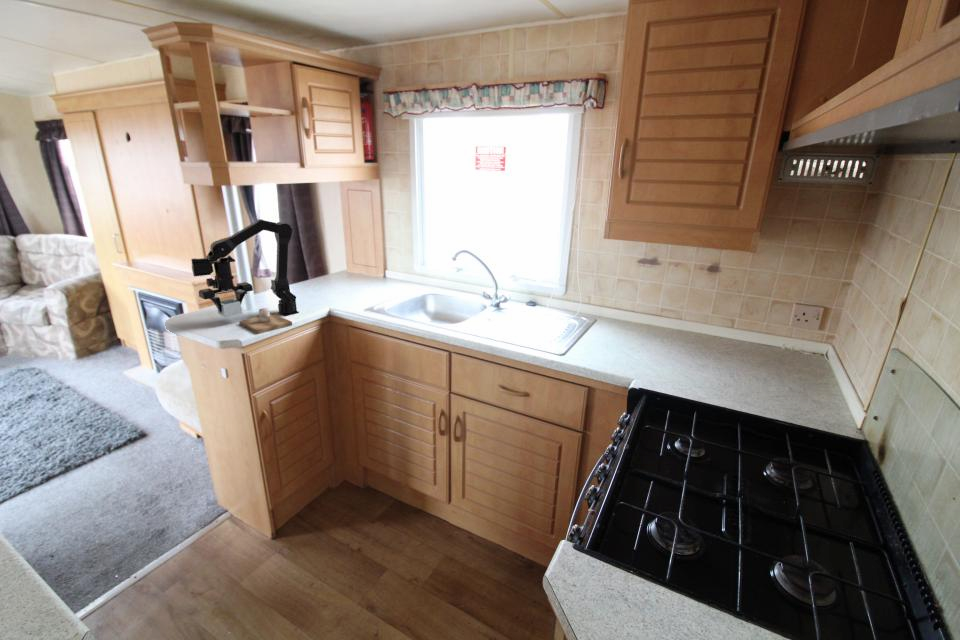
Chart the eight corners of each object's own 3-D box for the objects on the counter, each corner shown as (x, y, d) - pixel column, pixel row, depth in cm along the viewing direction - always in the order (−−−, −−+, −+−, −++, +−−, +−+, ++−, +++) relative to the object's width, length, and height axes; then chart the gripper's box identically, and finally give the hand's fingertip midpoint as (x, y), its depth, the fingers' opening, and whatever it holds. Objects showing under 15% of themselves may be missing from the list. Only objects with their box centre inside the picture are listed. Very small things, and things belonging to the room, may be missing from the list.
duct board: (273, 316, 195) (271, 302, 193) (292, 325, 185) (290, 310, 183) (239, 324, 185) (237, 309, 183) (258, 334, 175) (255, 318, 173)
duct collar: (235, 310, 190) (233, 298, 189) (242, 313, 186) (240, 301, 185) (218, 313, 185) (216, 301, 184) (225, 317, 181) (223, 305, 180)
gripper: (238, 266, 192) (244, 301, 197) (190, 273, 178) (197, 311, 183) (250, 271, 185) (256, 307, 190) (201, 278, 172) (208, 317, 177)
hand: (229, 310), depth 185 cm, fingers closed on duct collar, 7 cm apart
